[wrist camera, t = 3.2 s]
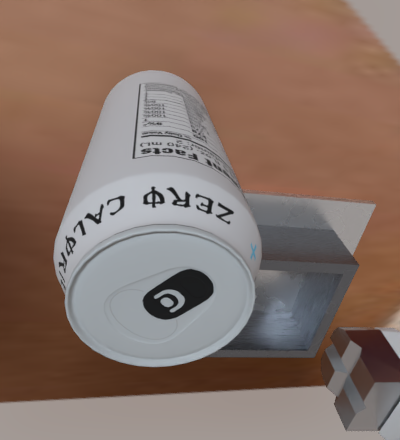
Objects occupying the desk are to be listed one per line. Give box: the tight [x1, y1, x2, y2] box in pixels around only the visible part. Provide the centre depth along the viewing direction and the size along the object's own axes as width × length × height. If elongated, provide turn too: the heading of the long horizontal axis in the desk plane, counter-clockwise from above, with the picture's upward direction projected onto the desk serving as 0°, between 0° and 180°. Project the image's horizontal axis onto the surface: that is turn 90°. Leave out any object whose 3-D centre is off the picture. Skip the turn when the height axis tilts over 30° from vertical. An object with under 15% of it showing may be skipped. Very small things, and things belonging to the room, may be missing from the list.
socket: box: [206, 189, 376, 358], centre depth 28 cm, size 14×14×5 cm
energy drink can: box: [53, 70, 262, 367], centre depth 16 cm, size 6×6×15 cm
